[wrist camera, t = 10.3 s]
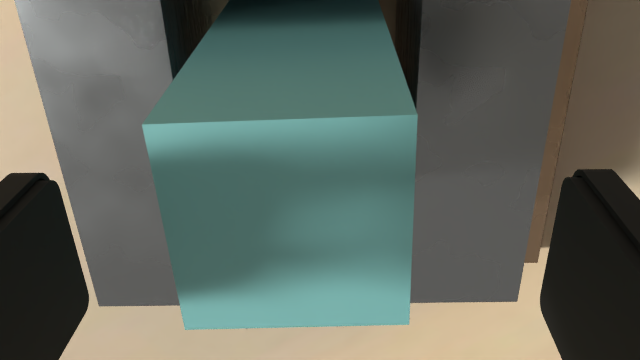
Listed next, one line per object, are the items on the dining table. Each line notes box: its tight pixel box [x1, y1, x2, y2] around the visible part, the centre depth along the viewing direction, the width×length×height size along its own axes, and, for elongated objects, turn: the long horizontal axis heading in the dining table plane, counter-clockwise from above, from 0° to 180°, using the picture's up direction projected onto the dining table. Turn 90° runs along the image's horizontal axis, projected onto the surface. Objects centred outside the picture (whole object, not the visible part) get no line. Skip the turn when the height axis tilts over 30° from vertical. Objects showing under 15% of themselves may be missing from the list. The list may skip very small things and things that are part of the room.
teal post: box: [142, 0, 418, 330], centre depth 16 cm, size 5×5×12 cm
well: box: [14, 0, 588, 306], centre depth 19 cm, size 20×20×7 cm
